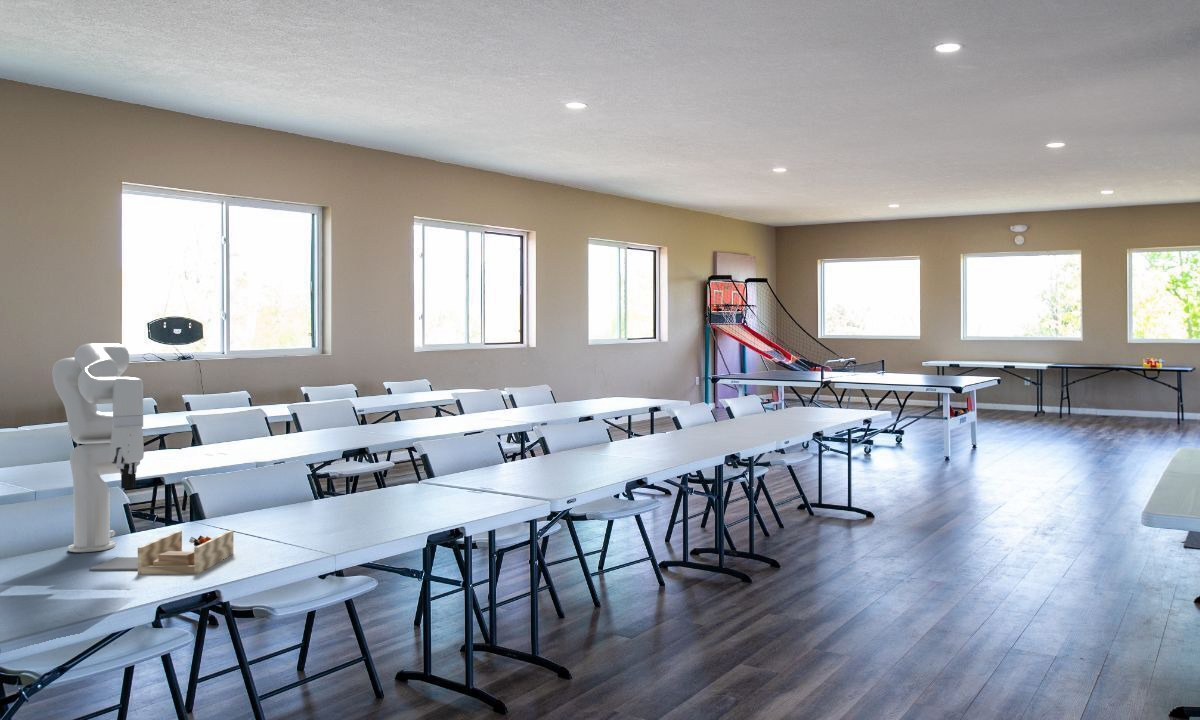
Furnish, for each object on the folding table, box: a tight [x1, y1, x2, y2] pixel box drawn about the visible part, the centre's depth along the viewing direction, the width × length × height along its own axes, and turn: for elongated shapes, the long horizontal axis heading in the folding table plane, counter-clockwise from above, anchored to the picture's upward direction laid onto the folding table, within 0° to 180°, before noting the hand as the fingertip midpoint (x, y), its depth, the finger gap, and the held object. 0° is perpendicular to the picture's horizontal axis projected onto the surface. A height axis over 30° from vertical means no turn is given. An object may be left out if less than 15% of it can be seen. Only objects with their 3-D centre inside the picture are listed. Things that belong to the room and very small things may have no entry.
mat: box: [88, 556, 138, 572], centre depth 251 cm, size 14×14×1 cm
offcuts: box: [153, 550, 194, 566], centre depth 245 cm, size 6×10×4 cm, turn 91°
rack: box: [137, 530, 234, 575], centre depth 252 cm, size 24×16×7 cm, turn 1°
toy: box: [188, 535, 212, 547], centre depth 264 cm, size 8×6×15 cm
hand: (128, 488), depth 251 cm, fingers closed
